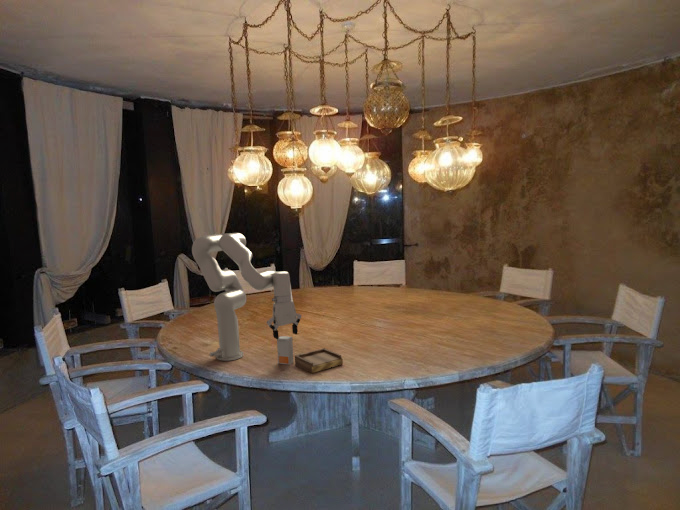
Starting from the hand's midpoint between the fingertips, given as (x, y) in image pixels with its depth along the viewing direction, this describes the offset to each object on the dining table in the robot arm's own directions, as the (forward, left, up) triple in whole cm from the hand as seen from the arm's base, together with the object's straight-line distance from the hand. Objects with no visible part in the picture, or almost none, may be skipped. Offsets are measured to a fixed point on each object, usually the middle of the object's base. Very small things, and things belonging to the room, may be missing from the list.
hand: (285, 336), depth 212 cm
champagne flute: (+39, +67, -13) cm, 78 cm away
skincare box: (0, +1, -13) cm, 13 cm away
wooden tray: (+10, -11, -13) cm, 20 cm away
